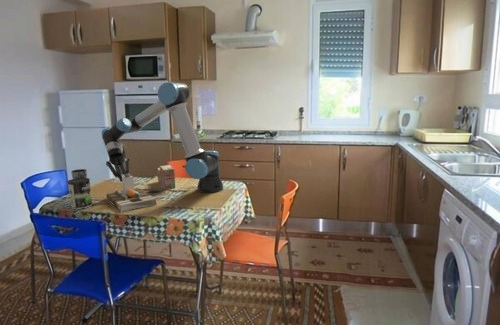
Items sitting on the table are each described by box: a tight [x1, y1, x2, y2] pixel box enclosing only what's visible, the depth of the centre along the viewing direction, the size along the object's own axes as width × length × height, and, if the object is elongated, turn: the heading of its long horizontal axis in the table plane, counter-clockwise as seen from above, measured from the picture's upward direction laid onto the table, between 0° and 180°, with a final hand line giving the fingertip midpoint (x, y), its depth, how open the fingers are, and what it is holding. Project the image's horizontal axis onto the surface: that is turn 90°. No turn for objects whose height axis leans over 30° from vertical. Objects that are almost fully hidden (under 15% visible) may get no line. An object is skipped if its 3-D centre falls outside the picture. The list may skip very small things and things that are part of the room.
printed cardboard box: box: [156, 164, 176, 190], centre depth 230 cm, size 21×6×12 cm, turn 25°
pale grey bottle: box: [121, 172, 135, 196], centre depth 198 cm, size 3×5×12 cm, turn 125°
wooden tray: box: [106, 187, 157, 212], centre depth 197 cm, size 28×18×4 cm, turn 35°
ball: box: [127, 190, 135, 197], centre depth 196 cm, size 4×4×4 cm
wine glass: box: [70, 168, 88, 179], centre depth 210 cm, size 8×8×15 cm
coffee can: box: [67, 177, 93, 210], centre depth 191 cm, size 10×10×14 cm
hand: (125, 185), depth 200 cm, fingers closed
